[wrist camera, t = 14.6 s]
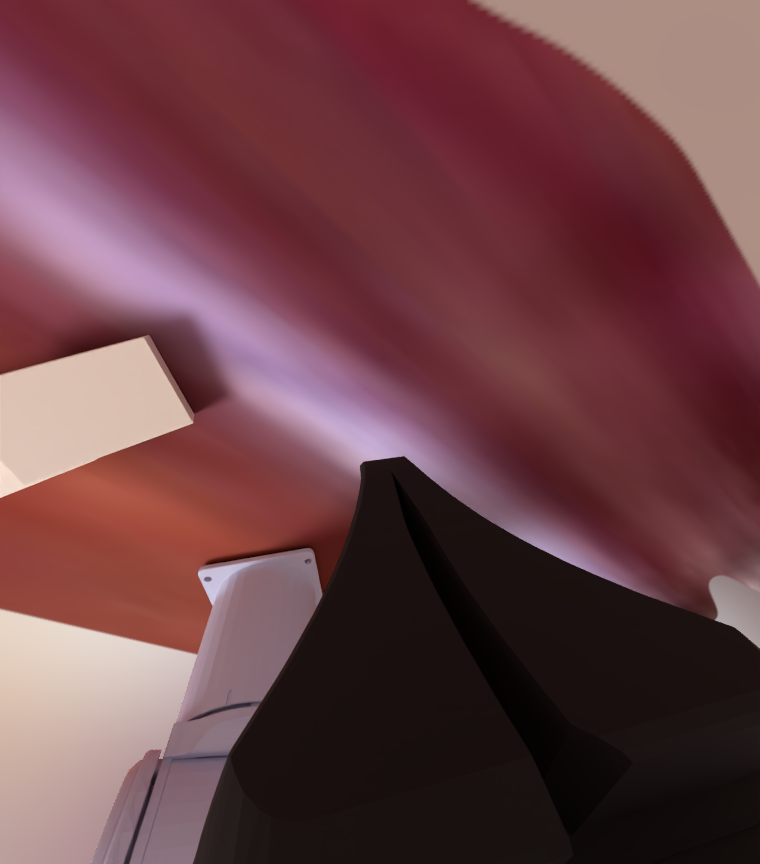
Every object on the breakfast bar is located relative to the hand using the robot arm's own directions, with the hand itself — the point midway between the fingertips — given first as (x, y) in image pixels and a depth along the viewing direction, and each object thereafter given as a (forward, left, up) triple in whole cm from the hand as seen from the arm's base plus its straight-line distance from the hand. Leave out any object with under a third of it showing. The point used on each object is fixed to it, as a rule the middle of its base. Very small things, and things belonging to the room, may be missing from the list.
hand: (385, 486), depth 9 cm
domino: (+1, +9, -9) cm, 13 cm away
